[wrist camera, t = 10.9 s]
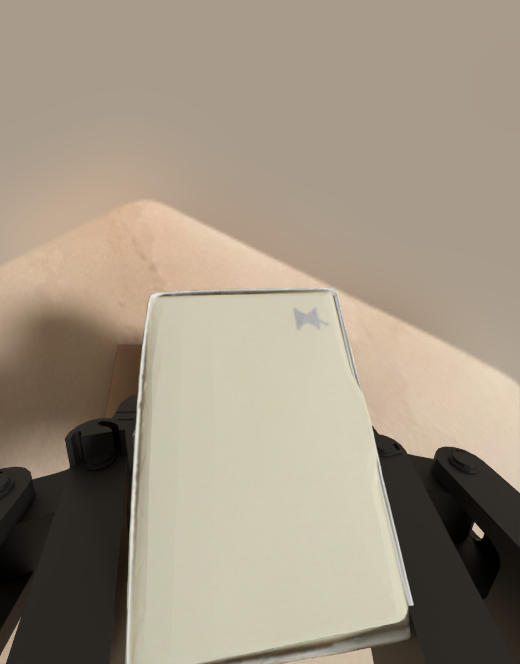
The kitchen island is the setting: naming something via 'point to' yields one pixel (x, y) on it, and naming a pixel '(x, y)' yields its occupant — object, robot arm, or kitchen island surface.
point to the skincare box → (256, 487)
